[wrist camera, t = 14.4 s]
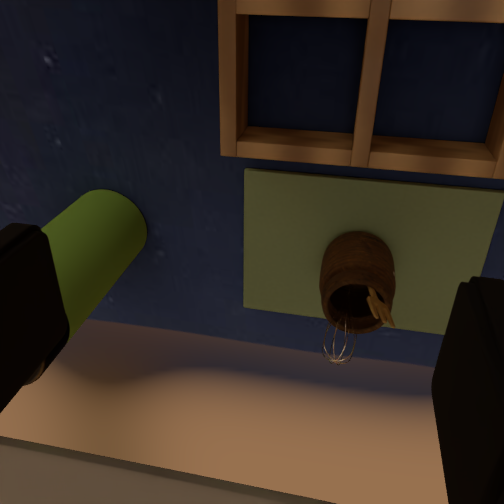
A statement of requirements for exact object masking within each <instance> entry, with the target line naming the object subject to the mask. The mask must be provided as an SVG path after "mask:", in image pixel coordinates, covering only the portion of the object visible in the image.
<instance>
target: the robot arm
mask: <svg viewBox="0 0 504 504" xmlns="http://www.w3.org/2000/svg"><path fill="white" fill-rule="evenodd" d="M66 330H67V317H66V313H65V309H64V304H63V300H62V296H61V291H60V287H59V283H58V278H57V274H56V270H55V265H54V261H53V257H52V252H51V248H50V244H49V239H48V236H47V235H46V233H44V232H42V230H41V229H40V227H38V226H37V225H29V224H21V223H11V224H9V225H8V226H6V227H5V228H3V229H2V230H1V231H0V413H1V412H2V411H3V409H4V408H5V407H6V406H7V404H8V403H9V402H10V401H11V399H12V398H13V397H14V396H15V395H16V394H17V392H18V391H19V390H20V389H21V387H22V386H23V385H24V384H25V383H26V381H27V380H28V379H29V378H30V376H31V375H32V374H33V373H34V372H35V370H36V369H37V368H38V367H39V366H40V364H41V363H42V362H43V361H44V359H45V358H46V357H47V356H48V355H49V353H50V352H51V351H52V350H53V348H54V347H55V346H56V345H57V344H58V342H59V341H60V340H61V339H62V338H63V336H64V335H65V333H66ZM432 399H433V405H434V412H435V418H436V425H437V430H438V438H439V444H440V450H441V457H442V464H443V470H444V477H445V483H446V489H447V496H448V502H449V504H504V281H503V280H501V279H494V278H486V277H477V276H472V277H471V278H470V280H469V282H460V284H459V286H458V289H457V293H456V296H455V300H454V303H453V307H452V310H451V314H450V317H449V321H448V324H447V328H446V331H445V335H444V338H443V342H442V346H441V349H440V353H439V356H438V360H437V363H436V367H435V370H434V374H433V378H432ZM0 504H336V503H331V502H327V501H322V500H317V499H313V498H307V497H303V496H297V495H293V494H288V493H283V492H278V491H273V490H268V489H264V488H259V487H254V486H249V485H244V484H239V483H234V482H229V481H224V480H220V479H215V478H210V477H204V476H200V475H195V474H190V473H185V472H180V471H175V470H170V469H165V468H160V467H155V466H150V465H145V464H140V463H135V462H130V461H125V460H120V459H115V458H110V457H105V456H100V455H94V454H90V453H85V452H80V451H75V450H70V449H64V448H59V447H54V446H49V445H44V444H39V443H34V442H29V441H24V440H19V439H13V438H7V437H3V436H0Z"/></svg>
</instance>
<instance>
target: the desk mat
mask: <svg viewBox="0 0 504 504" xmlns="http://www.w3.org/2000/svg"><path fill="white" fill-rule="evenodd" d="M503 200H504V191H503V190H493V189H482V188H470V187H459V186H448V185H436V184H425V183H413V182H402V181H391V180H379V179H368V178H356V177H345V176H333V175H322V174H311V173H299V172H288V171H276V170H265V169H253V168H246V169H245V170H244V295H243V307H245V308H252V309H259V310H267V311H274V312H281V313H289V314H296V315H303V316H311V317H318V318H325V319H326V317H325V315H324V313H323V310H322V305H321V295H320V290H319V279H320V271H321V264H322V259H323V255H324V253H325V250H326V248H327V247H328V245H329V244H330V243H331V242H332V241H333V240H334V239H335V238H337V237H338V236H340V235H342V234H345V233H348V232H354V231H362V232H367V233H371V234H373V235H375V236H377V237H379V238H380V239H381V240H383V241H384V242H385V243H386V245H387V246H388V247H389V249H390V251H391V253H392V256H393V261H394V268H395V279H396V290H395V295H394V299H393V305H392V310H391V313H390V314H391V316H392V319H393V322H394V324H395V328H398V329H406V330H413V331H420V332H428V333H435V334H442V335H445V331H446V328H447V324H448V321H449V317H450V314H451V310H452V307H453V303H454V300H455V296H456V293H457V289H458V286H459V284H460V282H469V280H470V278H471V277H472V276H477V277H480V275H481V272H482V268H483V265H484V262H485V259H486V255H487V252H488V249H489V246H490V242H491V239H492V236H493V233H494V229H495V226H496V223H497V220H498V216H499V213H500V210H501V207H502V203H503ZM382 326H384V327H391V326H390V324H389V322H388V320H387V323H386V324H385V323H384V324H383V325H382ZM391 328H392V327H391Z"/></svg>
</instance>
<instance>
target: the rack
mask: <svg viewBox="0 0 504 504" xmlns="http://www.w3.org/2000/svg"><path fill="white" fill-rule="evenodd" d="M249 15H279V16H309V17H338V18H368V20H367V28H366V36H365V44H364V53H363V61H362V69H361V77H360V85H359V93H358V101H357V109H356V117H355V125H354V133H353V134H350V133H336V132H323V131H309V130H295V129H282V128H268V127H254V126H248V45H249ZM389 19H399V20H428V21H458V22H487V23H504V0H218V45H219V96H220V147H221V156H232V157H236V156H237V157H245V158H257V159H269V160H281V161H292V162H304V163H316V164H328V165H340V166H352V167H364V168H367V167H368V168H376V169H388V170H399V171H411V172H423V173H435V174H447V175H459V176H471V177H483V178H495V179H504V74H503V77H502V81H501V85H500V89H499V92H498V96H497V100H496V103H495V107H494V111H493V115H492V118H491V122H490V126H489V130H488V133H487V137H486V141H485V144H484V143H474V142H460V141H446V140H433V139H419V138H405V137H391V136H378V135H372V133H373V126H374V119H375V113H376V106H377V99H378V92H379V85H380V78H381V71H382V64H383V57H384V50H385V43H386V36H387V29H388V22H389Z"/></svg>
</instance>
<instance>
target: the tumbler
mask: <svg viewBox="0 0 504 504" xmlns="http://www.w3.org/2000/svg"><path fill="white" fill-rule="evenodd" d="M41 230H42V232H44V233H46V235H47V236H48V239H49V244H50V248H51V252H52V257H53V261H54V265H55V270H56V274H57V278H58V283H59V287H60V291H61V296H62V300H63V304H64V309H65V313H66V317H67V330H66V333H65V335H64V336H63V338H62V339H61V340H60V341H59V342H58V344H57V345H56V346H55V347H54V348H53V350H52V351H51V352H50V353H49V355H48V356H47V357H46V358H45V359H44V361H43V362H42V363H41V364H40V366H39V367H38V368H37V369H36V370H35V372H34V373H33V374H32V375H31V376H30V378H29V379H28V380H27V381H26V383H25V384H24V385H28V384H31V383H33V382H34V381H36V380H37V379H39V378H40V376H41V375H42V374H43V373H44V371H45V370H46V369H47V368H48V366H49V365H50V364H51V363H52V361H53V360H54V359H55V358H56V356H57V355H58V354H59V353H60V351H61V350H62V349H63V347H64V346H65V345H66V343H68V341H69V340H70V338H72V336H73V335H74V334H75V333H76V331H77V330H78V329H79V327H80V326H81V325H82V324H83V322H84V321H85V320H86V319H87V317H88V316H89V315H90V314H91V312H92V311H93V310H94V309H95V307H96V306H97V305H98V304H99V302H100V301H101V300H102V299H103V297H104V296H105V295H106V294H107V292H108V291H109V290H110V289H111V287H112V286H113V285H114V283H115V282H116V281H117V280H118V278H119V277H120V276H121V275H122V273H123V272H124V271H125V270H126V268H127V267H128V266H129V265H130V263H131V262H132V261H133V260H134V258H135V257H136V256H137V255H138V253H139V252H140V251H141V250H142V248H143V247H144V245H145V242H146V238H147V227H146V223H145V220H144V218H143V216H142V214H141V212H140V211H139V209H138V208H137V207H136V206H135V205H134V204H133V203H132V202H131V201H130V200H129V199H128V198H126V197H125V196H123V195H121V194H119V193H117V192H114V191H110V190H103V189H99V190H93V191H90V192H88V193H86V194H84V195H83V196H81V197H80V198H79V199H78V200H77V201H75V202H74V203H73V204H72V205H70V206H69V207H68V208H67V209H65V210H64V211H63V212H62V213H60V214H59V215H58V216H57V217H55V218H54V219H53V220H52V221H50V222H49V223H48V224H47V225H46V226H44V227H43V228H42V229H41ZM24 385H23V386H24Z"/></svg>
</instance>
